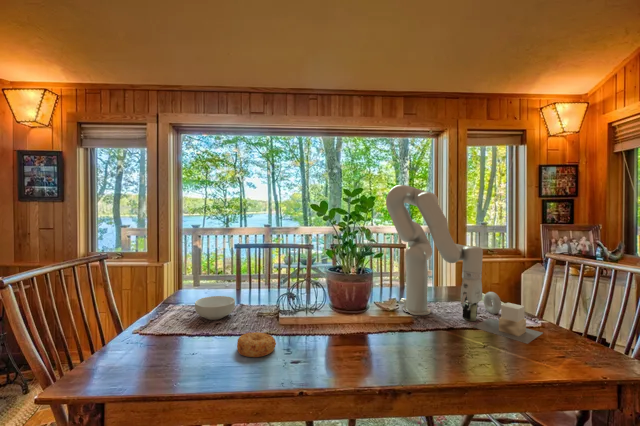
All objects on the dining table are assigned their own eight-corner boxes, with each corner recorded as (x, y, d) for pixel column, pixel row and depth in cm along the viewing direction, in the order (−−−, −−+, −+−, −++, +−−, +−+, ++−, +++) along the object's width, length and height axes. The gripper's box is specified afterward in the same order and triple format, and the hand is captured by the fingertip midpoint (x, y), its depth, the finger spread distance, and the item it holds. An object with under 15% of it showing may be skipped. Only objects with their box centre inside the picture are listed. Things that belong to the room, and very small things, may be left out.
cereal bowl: (228, 324, 132) (228, 307, 132) (188, 323, 133) (188, 306, 132) (239, 310, 149) (239, 295, 149) (203, 310, 150) (203, 295, 149)
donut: (502, 317, 143) (503, 294, 143) (495, 317, 142) (496, 295, 142) (488, 310, 153) (488, 289, 153) (481, 310, 152) (482, 289, 152)
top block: (501, 318, 126) (501, 305, 126) (507, 314, 129) (507, 302, 129) (517, 322, 121) (518, 309, 121) (524, 319, 125) (524, 306, 125)
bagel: (253, 364, 100) (253, 348, 100) (228, 350, 109) (228, 336, 108) (283, 350, 109) (283, 335, 109) (258, 339, 118) (258, 325, 118)
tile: (471, 328, 130) (471, 326, 130) (489, 319, 140) (489, 318, 140) (527, 345, 114) (527, 343, 114) (543, 334, 124) (543, 332, 124)
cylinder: (461, 318, 139) (461, 304, 138) (466, 315, 142) (467, 302, 142) (472, 321, 135) (473, 307, 135) (478, 319, 138) (479, 305, 138)
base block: (498, 330, 126) (499, 317, 126) (506, 326, 130) (506, 314, 130) (518, 336, 120) (518, 323, 120) (525, 331, 125) (526, 319, 125)
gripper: (470, 279, 129) (468, 324, 130) (490, 274, 140) (487, 315, 141) (453, 275, 135) (451, 318, 136) (472, 271, 146) (470, 311, 146)
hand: (469, 316), depth 138 cm, fingers closed on cylinder, 5 cm apart
